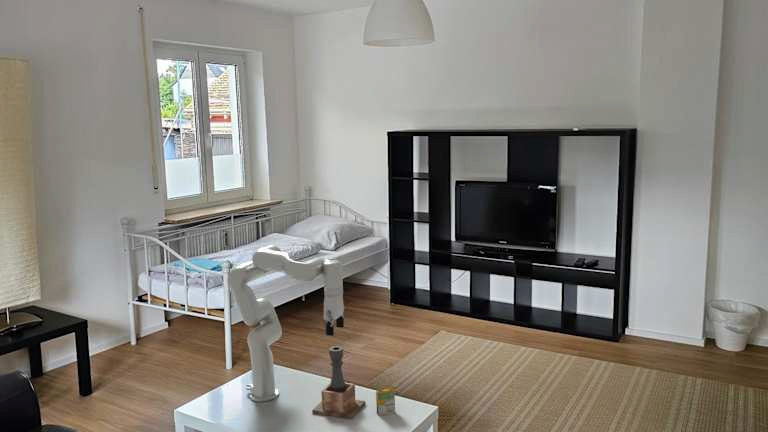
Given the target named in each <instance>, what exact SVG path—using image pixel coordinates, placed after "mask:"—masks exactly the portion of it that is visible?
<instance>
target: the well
mask: <svg viewBox="0 0 768 432" xmlns="http://www.w3.org/2000/svg"><path fill="white" fill-rule="evenodd" d="M330 384H331V382H330V383H329V384H327V385H326V386H325V387H324V388H323V389H322V390H321V401H320V402H319V403H318V404H317V405H316V406H314V408H313V409H311V412H312V413H311V414H313V415H318V416H319V415H321V416H326V417H333V418H338V419H339V418H340V419H346V420H353V419H354V418H355V417H356V416H357V415H358V413H360V412H361V411H362V409H363V408H364V407H365V406H366V401H365V400H360V399H356V384H355V383H349V382H345V387H344V389H343V392H344V393H339V392H333V390H332V388H331V386H330Z"/></svg>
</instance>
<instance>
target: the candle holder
mask: <svg viewBox="0 0 768 432" xmlns="http://www.w3.org/2000/svg"><path fill="white" fill-rule="evenodd" d="M328 349H329V352H328V353H329V358H330V360H331V361H330V365H331V367H332V370H331V371H332V373H331V379H330V383H331V384H330V383H329V384H330V386H331V388H332V390H333V392H339V393H344V392H343V389H344V387H345V383H346V382H345V378H344V375H343V369H342V367H343V364H344V362H343V357H344V347H342V346H340V345H335V346H330V347H329V348H328Z"/></svg>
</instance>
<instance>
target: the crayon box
mask: <svg viewBox="0 0 768 432" xmlns="http://www.w3.org/2000/svg"><path fill="white" fill-rule="evenodd" d="M395 395H396V394H395V386H390V387H383V388H378V389H377V390H376V391H375V398H376V399H375V400H376V403H375V404H376V414H377V415H378V416H385V415H386V416H387V415H391V414H396V400H395V399H396V398H395Z"/></svg>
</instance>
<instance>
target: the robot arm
mask: <svg viewBox="0 0 768 432" xmlns="http://www.w3.org/2000/svg"><path fill="white" fill-rule="evenodd" d="M270 271H274V272H278V273H282V274H284V275H286V277H288V278H290V279H293V280H297V281H301V282H302V281H303V282H313V281H315V280H317V279H318V278H321V277H323V286H324V287H323V289H324V291H323V292H324V293H323V294H324V300H323V321H324V322H323V323H324V326H325V335H326V336H330V337H331V336H332V337H333V336H334V334H335V333H334V323H335V326H336V328H339V329H344V327H345V324H344V323H345V321H344V320H345V319H344V317H345V315H344V314H345V305H344V296H343V295H344V287H343V286H344V285H343V282H344V281H343V263H342V262H341V261H340V260H337V259H332V260H331V259H327V258H323V257H317V258H314V259H312V260H310V261H307V262H299V261H295V260H293V256H292V254H290V253H289V252H285V251H282V250H281V249H280V248H279V247H278V246H276V245H273V244H272V245H271V244H270V245H267V246H264V247H262V248H259V249H257V250H256V251H254V253H253V254H252V258H251V260H250V261H247V262H243V263H241V264H239V265H237V266H235V267H234V268H233V269H232V270H230V272H229V274H228V277H227V285H228V288H229V290H230V292H231V294H232V295H233V298H234V300H235V303H236V306H237V308H238V311H239V314H240V316H241V318H242V321H243V322H244V324H245V325H247V326H249V327H251V326H255V325H257V324H260V325H258V326H256V327H254V328H253V329H252V330H250V332H249V333H248V335H247V340H246V341H247V346H248V350H249V354H250V365H251V379H252V383H247V384H246V388H245V389H246V391H250V393H249V398H250V400H251V401H254V402H260V403H262V402H269V401H273V400H274V399H276V398H278V396H279V393H280V392H279V389H278V388H276V385H275V368H274V354H273V353H272V350H271V348H270V346H271V345H272V344H273V343H275V342H276V341H278V340H279V339H281V336H282V333H283V331H282V330H283V329H282V326H281V323H280V321H279V318H278V314H277V313H276V310H275V307H274V305H273V304H272V302H271V301H270V300H269V299H267V298H264V297H261V298H260V297H259V298H258V299H257V297H256V294H255V292H254V290H253V289H252V288H251V286H250V285H248V284H249V283H250V282H253V281H256V280H258V279H260V278H262V277H264V276H265V275H266V274H268V272H270ZM334 321H335V322H334Z"/></svg>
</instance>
